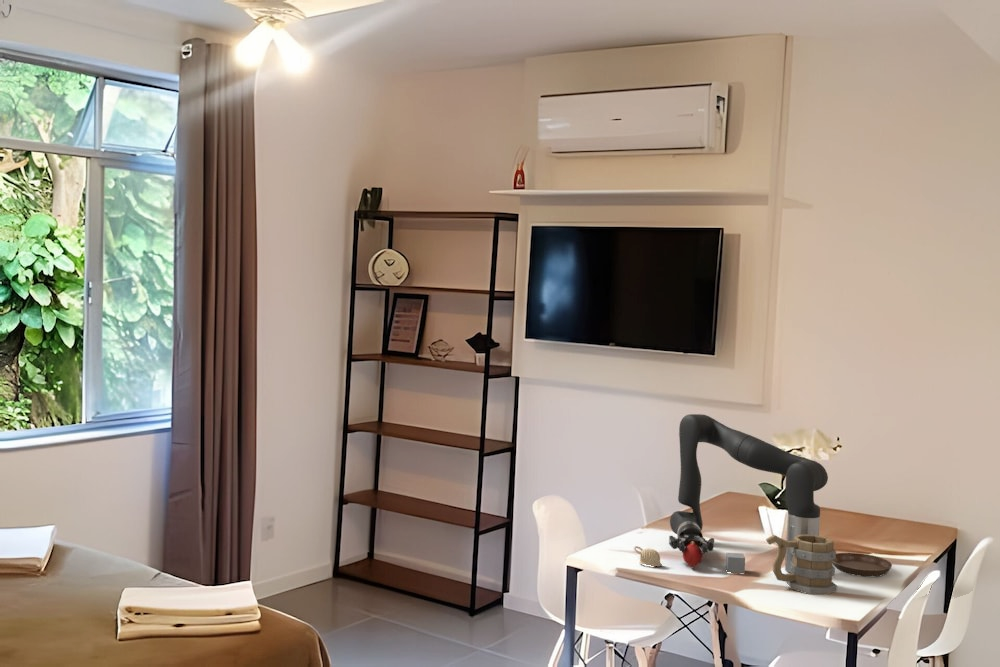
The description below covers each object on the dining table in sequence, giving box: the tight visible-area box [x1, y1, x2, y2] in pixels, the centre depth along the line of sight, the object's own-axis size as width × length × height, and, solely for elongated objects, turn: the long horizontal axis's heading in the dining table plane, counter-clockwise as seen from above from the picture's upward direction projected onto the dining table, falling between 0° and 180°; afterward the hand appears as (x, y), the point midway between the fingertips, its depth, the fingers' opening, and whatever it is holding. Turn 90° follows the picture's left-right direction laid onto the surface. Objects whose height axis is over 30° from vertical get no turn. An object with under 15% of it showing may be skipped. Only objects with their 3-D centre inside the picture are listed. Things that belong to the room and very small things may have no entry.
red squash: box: [682, 541, 704, 568], centre depth 294 cm, size 6×6×8 cm
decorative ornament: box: [633, 545, 663, 567], centre depth 296 cm, size 4×8×5 cm, turn 63°
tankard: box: [765, 534, 838, 595], centre depth 278 cm, size 20×13×15 cm, turn 92°
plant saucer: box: [833, 552, 893, 577], centre depth 298 cm, size 18×18×3 cm
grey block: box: [725, 552, 746, 573], centre depth 292 cm, size 5×5×5 cm
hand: (694, 549), depth 291 cm, fingers closed on red squash, 5 cm apart
